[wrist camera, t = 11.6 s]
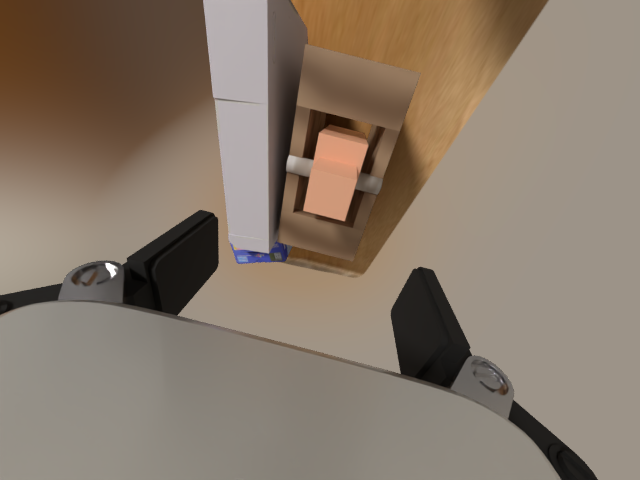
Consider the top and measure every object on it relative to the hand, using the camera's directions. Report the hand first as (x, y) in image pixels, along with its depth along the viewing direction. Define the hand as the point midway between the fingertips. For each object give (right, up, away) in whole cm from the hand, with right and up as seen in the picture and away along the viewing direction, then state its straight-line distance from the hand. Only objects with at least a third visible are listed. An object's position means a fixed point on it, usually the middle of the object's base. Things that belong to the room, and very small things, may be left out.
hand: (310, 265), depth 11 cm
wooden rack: (+4, +18, +31) cm, 36 cm away
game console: (-5, +21, +31) cm, 38 cm away
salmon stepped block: (+3, +13, +24) cm, 28 cm away
